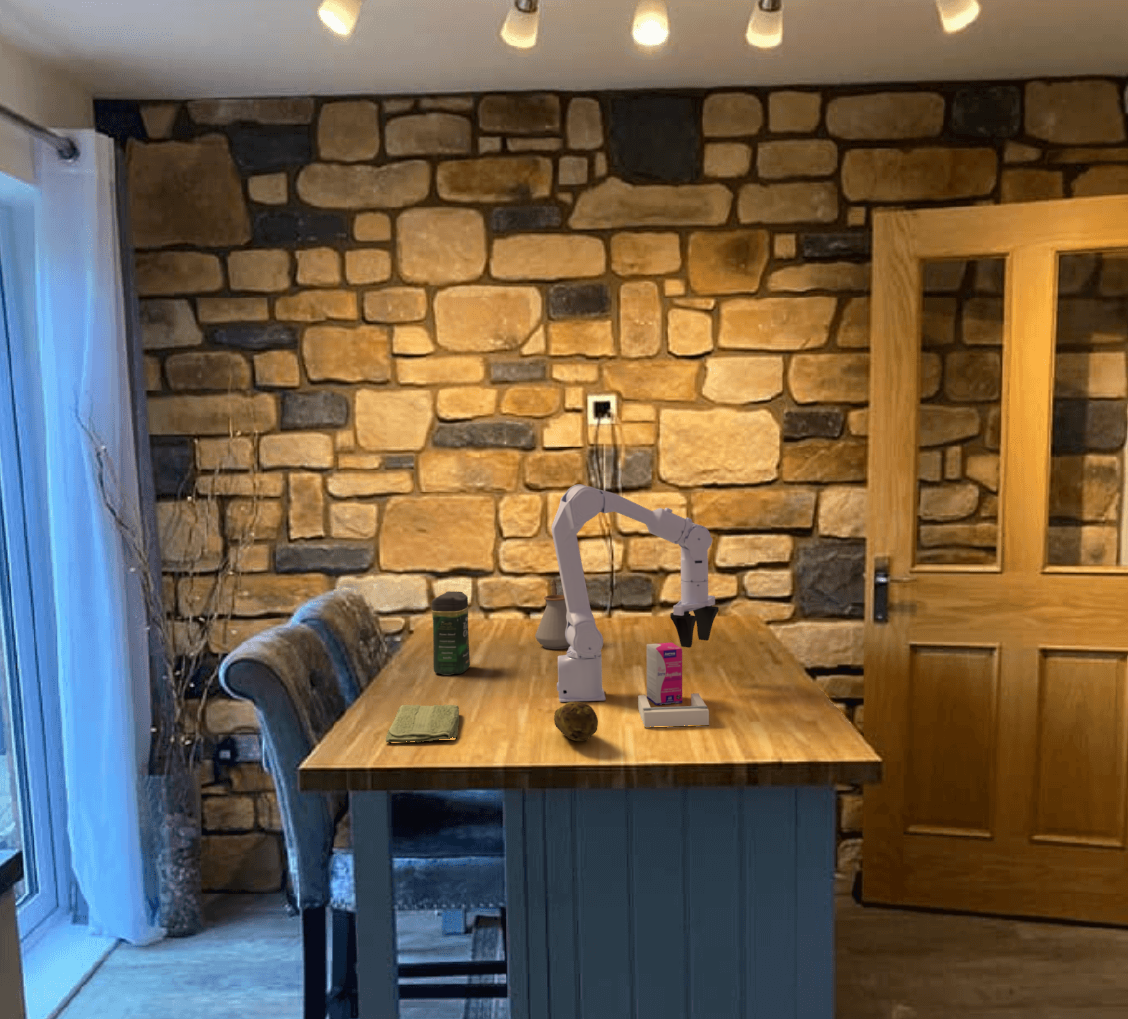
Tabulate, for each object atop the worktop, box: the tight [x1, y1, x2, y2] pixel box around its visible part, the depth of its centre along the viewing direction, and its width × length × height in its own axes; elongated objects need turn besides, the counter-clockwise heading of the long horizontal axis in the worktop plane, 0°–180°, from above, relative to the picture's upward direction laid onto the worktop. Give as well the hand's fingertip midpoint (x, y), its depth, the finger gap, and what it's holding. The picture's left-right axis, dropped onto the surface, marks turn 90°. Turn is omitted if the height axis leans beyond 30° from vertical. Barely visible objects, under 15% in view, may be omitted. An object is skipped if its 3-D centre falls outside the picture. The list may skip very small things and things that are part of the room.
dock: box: [637, 692, 710, 727], centre depth 179 cm, size 12×11×3 cm
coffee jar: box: [431, 591, 471, 676], centre depth 219 cm, size 10×8×19 cm
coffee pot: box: [534, 579, 570, 650], centre depth 246 cm, size 21×12×15 cm, turn 3°
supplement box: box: [646, 642, 683, 706], centre depth 190 cm, size 6×6×12 cm
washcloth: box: [385, 704, 460, 743], centre depth 177 cm, size 13×18×3 cm
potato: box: [553, 701, 599, 742], centre depth 167 cm, size 8×13×8 cm, turn 176°
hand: (695, 643), depth 199 cm, fingers open, 7 cm apart
